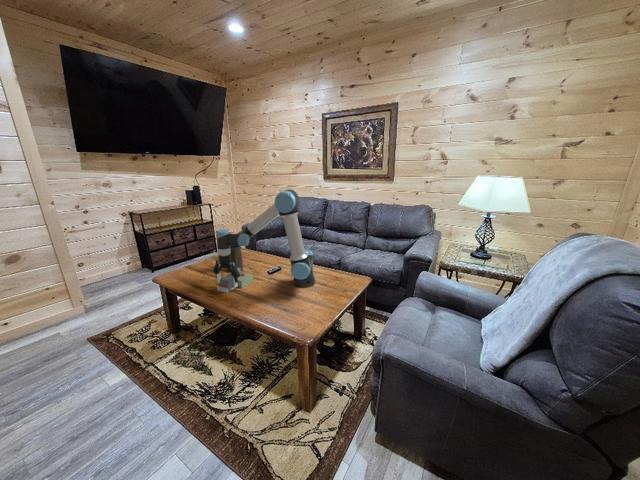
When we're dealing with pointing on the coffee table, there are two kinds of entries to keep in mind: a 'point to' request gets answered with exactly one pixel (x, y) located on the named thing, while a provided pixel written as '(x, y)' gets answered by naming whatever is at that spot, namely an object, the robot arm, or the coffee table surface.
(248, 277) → the green base with dome
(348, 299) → the coffee table surface
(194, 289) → the coffee table surface
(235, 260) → the beer stein
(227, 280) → the tall grey cuboid
